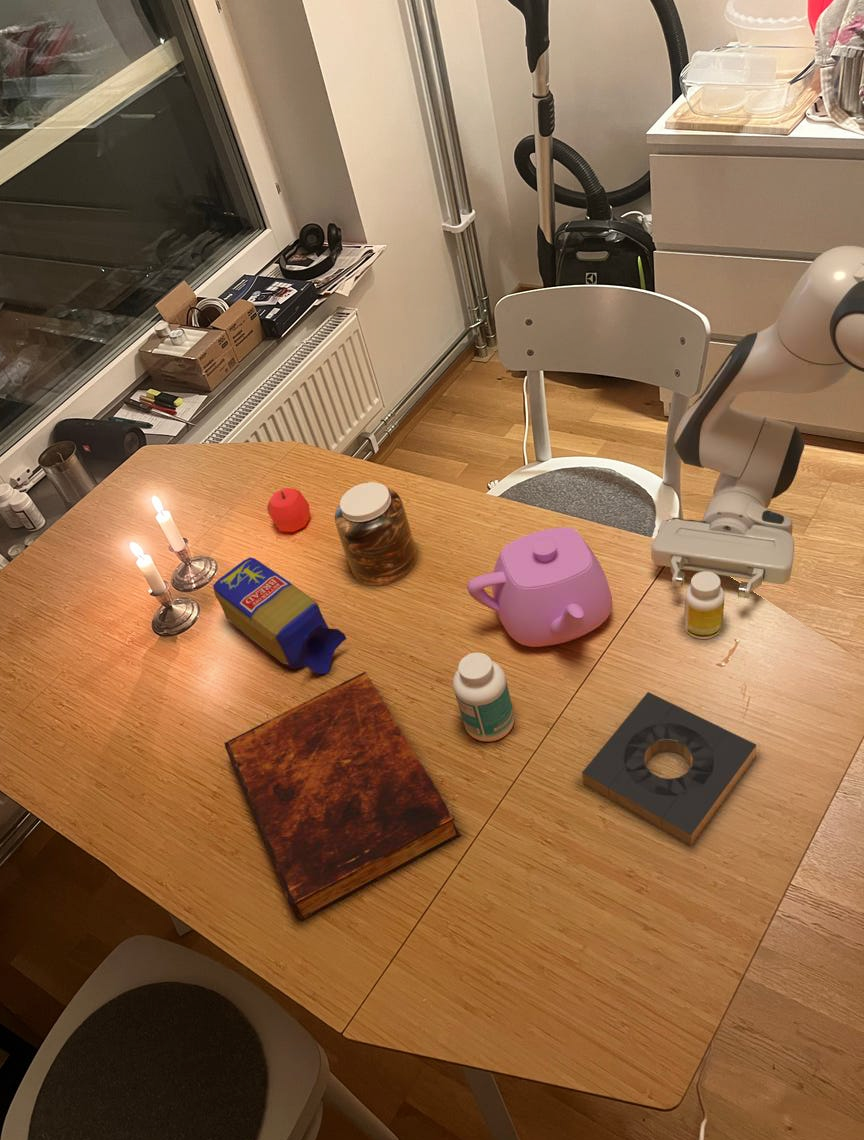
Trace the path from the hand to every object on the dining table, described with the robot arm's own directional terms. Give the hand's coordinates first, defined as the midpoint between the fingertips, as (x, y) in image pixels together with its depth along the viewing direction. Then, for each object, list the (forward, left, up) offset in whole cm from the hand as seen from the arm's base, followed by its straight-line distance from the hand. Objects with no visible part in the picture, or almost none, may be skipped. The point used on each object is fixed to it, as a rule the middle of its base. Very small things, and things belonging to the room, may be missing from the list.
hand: (709, 589), depth 134 cm
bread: (+55, +39, -6) cm, 68 cm away
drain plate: (-10, +27, -5) cm, 29 cm away
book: (+25, +56, -6) cm, 62 cm away
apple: (+75, +18, -6) cm, 78 cm away
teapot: (+19, +12, -6) cm, 23 cm away
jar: (+52, +17, -6) cm, 55 cm away
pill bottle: (+15, +34, -6) cm, 38 cm away
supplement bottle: (-1, +3, -6) cm, 6 cm away
